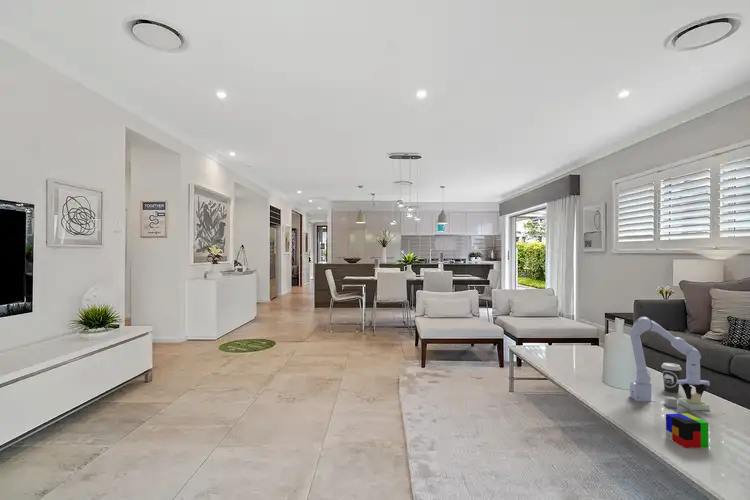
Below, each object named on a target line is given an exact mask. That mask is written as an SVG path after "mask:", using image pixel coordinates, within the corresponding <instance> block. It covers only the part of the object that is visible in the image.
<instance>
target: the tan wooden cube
mask: <svg viewBox="0 0 750 500" xmlns="http://www.w3.org/2000/svg"><path fill="white" fill-rule="evenodd" d="M687 401H689V402H691V403H701V401H702V396H701V394H699V393H697V392H696V391H691V399H688V398H687Z"/></svg>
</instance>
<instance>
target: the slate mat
mask: <svg viewBox="0 0 750 500" xmlns="http://www.w3.org/2000/svg"><path fill="white" fill-rule="evenodd" d="M662 406H664V407H666V408H668V409H670V410H672V411H673V412H675V414H682V413H688V414H690V415H692V416H697V414H696V413H695V412H693V411H692V410H690V409H688V408H686V407H685V406H683V405H681V404H677V408H676V407H667V406H666V405H665V403H662Z"/></svg>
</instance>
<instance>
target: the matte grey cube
mask: <svg viewBox="0 0 750 500" xmlns="http://www.w3.org/2000/svg"><path fill="white" fill-rule="evenodd" d="M664 404H665V405H666V406H667V407H666V406H665V407H666V408H668V407H676V408H677V405H678V398H676V397H674V396H668V395H667V396H666V395H664Z"/></svg>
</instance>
